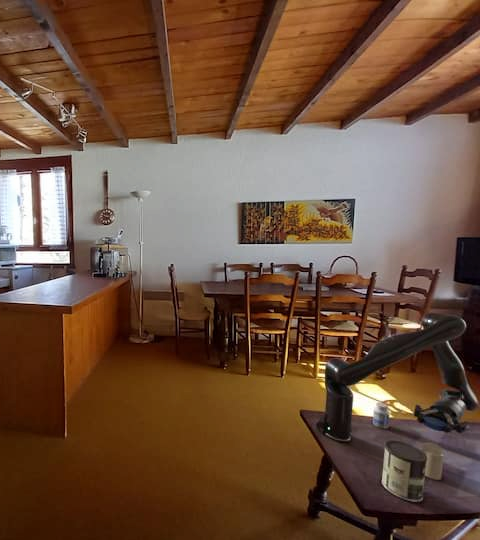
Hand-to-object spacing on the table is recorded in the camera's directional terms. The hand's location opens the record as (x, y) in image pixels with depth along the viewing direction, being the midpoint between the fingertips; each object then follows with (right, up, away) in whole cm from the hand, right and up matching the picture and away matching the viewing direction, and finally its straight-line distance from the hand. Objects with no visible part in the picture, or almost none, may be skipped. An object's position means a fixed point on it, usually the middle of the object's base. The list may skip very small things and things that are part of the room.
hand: (432, 425), depth 105 cm
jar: (+3, -19, +3) cm, 20 cm away
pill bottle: (+10, -17, +32) cm, 37 cm away
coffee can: (-14, -20, -3) cm, 25 cm away
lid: (+2, 0, +1) cm, 2 cm away
